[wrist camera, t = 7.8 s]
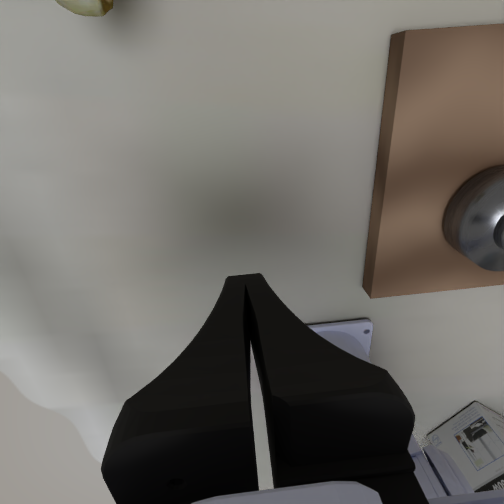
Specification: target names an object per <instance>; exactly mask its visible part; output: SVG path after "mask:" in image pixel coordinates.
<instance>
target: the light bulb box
mask: <svg viewBox="0 0 504 504" xmlns="http://www.w3.org/2000/svg"><path fill="white" fill-rule="evenodd" d="M427 437H428V439H429V440H430V442H431V444H432V445H434V446H435V447H436V448H437V449H440V450H442V451H444V452H446V453H447V454H449V455H450V456H451V458H452V459H453V460H454V462H455V463H456V464H457V466H458V467H459V469H460V470H461V472H462V473H463V475H464V476H465V478H466V479H467V481H468V482H469V484H470V486H471V487H472V489H473V490H474V492H475V493H476V492H483V491H491V490H498V489H504V417H502V416H501V415H499V414H497V413H495V412H494V411H492V410H490V409H488V408H487V407H485V406H483V405H481V404H480V403H478V402H474V403H473V404H471V405H470V406H469V407H467V408H466V409H464V410H463V411H462V412H460V413H459V414H457V415H456V416H455V417H453V418H452V419H450V420H449V421H448V422H446V423H445V424H443V425H442V426H441V427H439V428H438V429H436V430H435V431H433V432H432V433H431V434H429V435H428V436H427Z"/></svg>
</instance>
